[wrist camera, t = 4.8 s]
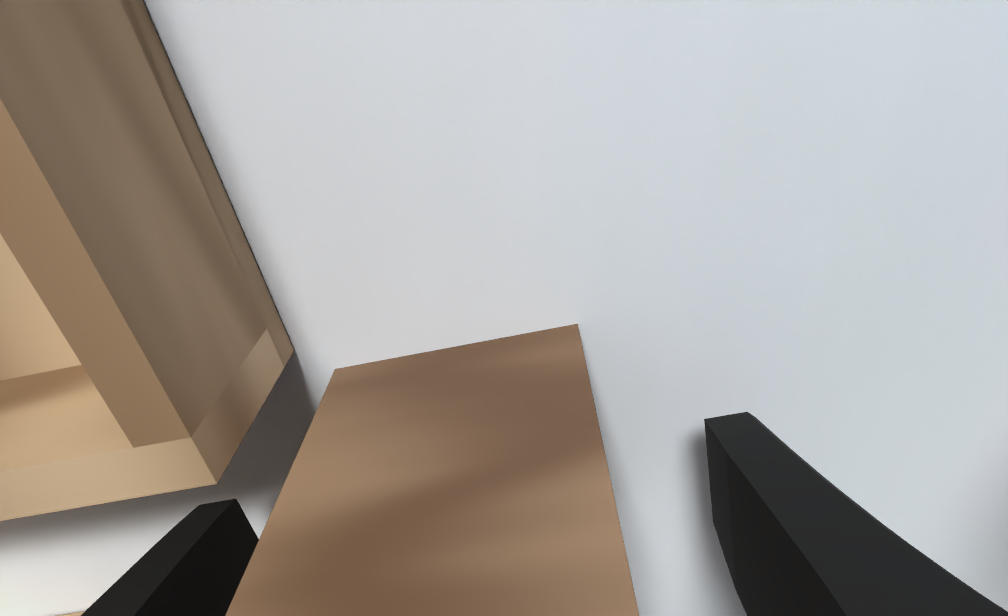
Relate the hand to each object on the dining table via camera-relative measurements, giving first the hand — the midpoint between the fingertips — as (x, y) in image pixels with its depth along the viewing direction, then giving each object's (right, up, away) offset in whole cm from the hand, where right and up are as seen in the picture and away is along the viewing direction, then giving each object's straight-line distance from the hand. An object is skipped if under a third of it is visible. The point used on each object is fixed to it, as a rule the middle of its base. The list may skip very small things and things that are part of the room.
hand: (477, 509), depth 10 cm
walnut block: (0, +1, +1) cm, 2 cm away
